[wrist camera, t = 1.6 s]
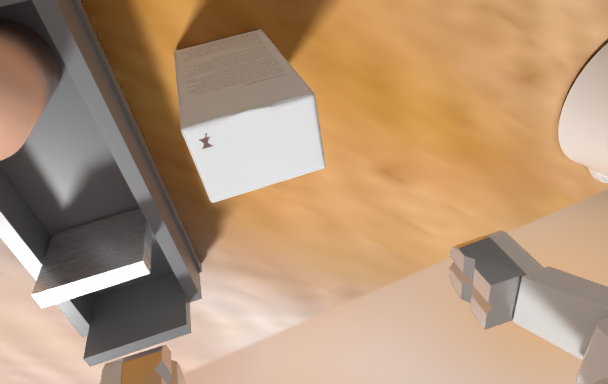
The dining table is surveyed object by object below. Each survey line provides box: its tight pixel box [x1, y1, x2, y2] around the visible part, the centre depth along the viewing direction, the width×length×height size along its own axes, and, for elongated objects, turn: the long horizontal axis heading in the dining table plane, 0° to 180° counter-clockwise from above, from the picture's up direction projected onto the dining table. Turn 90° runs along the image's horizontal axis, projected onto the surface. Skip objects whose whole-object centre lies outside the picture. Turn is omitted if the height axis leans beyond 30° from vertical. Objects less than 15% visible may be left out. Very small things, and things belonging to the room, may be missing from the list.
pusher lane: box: [0, 0, 202, 366], centre depth 27 cm, size 10×24×7 cm, turn 10°
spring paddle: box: [32, 208, 152, 308], centre depth 29 cm, size 7×1×6 cm, turn 100°
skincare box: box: [174, 29, 325, 203], centre depth 24 cm, size 6×4×12 cm
